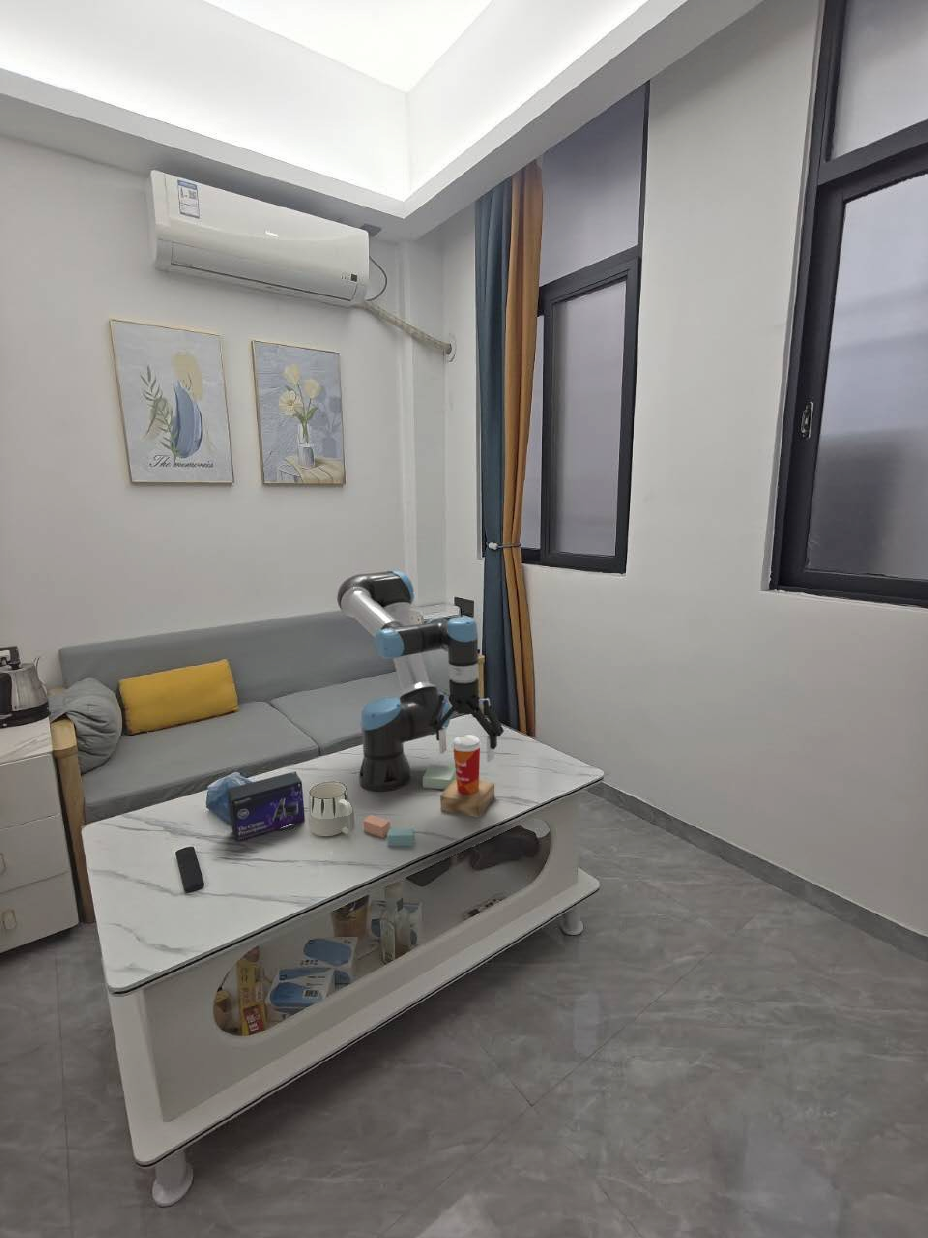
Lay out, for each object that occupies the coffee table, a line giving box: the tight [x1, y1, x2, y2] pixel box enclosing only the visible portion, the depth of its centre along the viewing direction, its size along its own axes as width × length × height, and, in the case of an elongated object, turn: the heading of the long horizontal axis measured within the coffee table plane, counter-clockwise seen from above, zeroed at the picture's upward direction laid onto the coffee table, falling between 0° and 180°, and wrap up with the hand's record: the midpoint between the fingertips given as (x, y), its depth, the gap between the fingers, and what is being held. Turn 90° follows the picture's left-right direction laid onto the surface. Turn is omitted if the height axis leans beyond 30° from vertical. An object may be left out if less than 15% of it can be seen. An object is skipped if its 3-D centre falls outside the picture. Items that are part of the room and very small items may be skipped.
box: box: [226, 770, 306, 843], centre depth 145 cm, size 17×7×12 cm, turn 121°
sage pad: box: [422, 764, 456, 790], centre depth 166 cm, size 8×8×3 cm
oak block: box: [439, 778, 495, 818], centre depth 154 cm, size 11×11×4 cm
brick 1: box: [362, 814, 391, 838], centre depth 143 cm, size 6×3×3 cm, turn 57°
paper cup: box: [451, 734, 482, 794], centre depth 152 cm, size 8×8×14 cm
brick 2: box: [386, 827, 416, 847], centre depth 138 cm, size 6×3×3 cm, turn 88°
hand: (466, 755), depth 152 cm, fingers open, 13 cm apart
